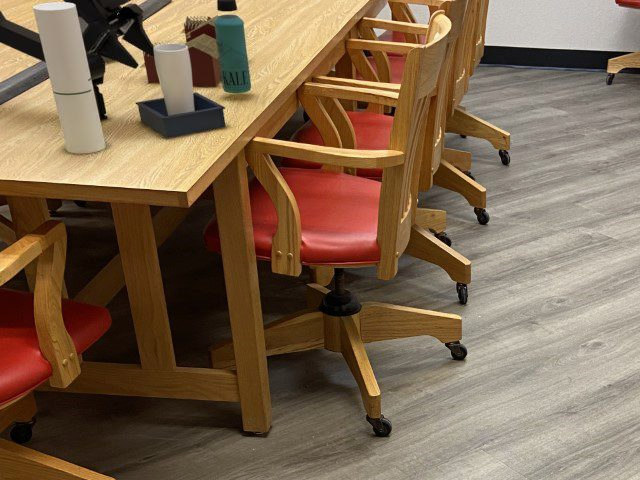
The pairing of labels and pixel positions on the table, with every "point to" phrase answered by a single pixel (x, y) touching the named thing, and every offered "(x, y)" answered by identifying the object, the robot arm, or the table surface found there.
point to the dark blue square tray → (182, 117)
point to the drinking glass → (175, 77)
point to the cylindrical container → (69, 76)
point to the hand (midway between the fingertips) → (146, 61)
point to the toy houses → (195, 53)
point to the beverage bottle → (232, 49)
